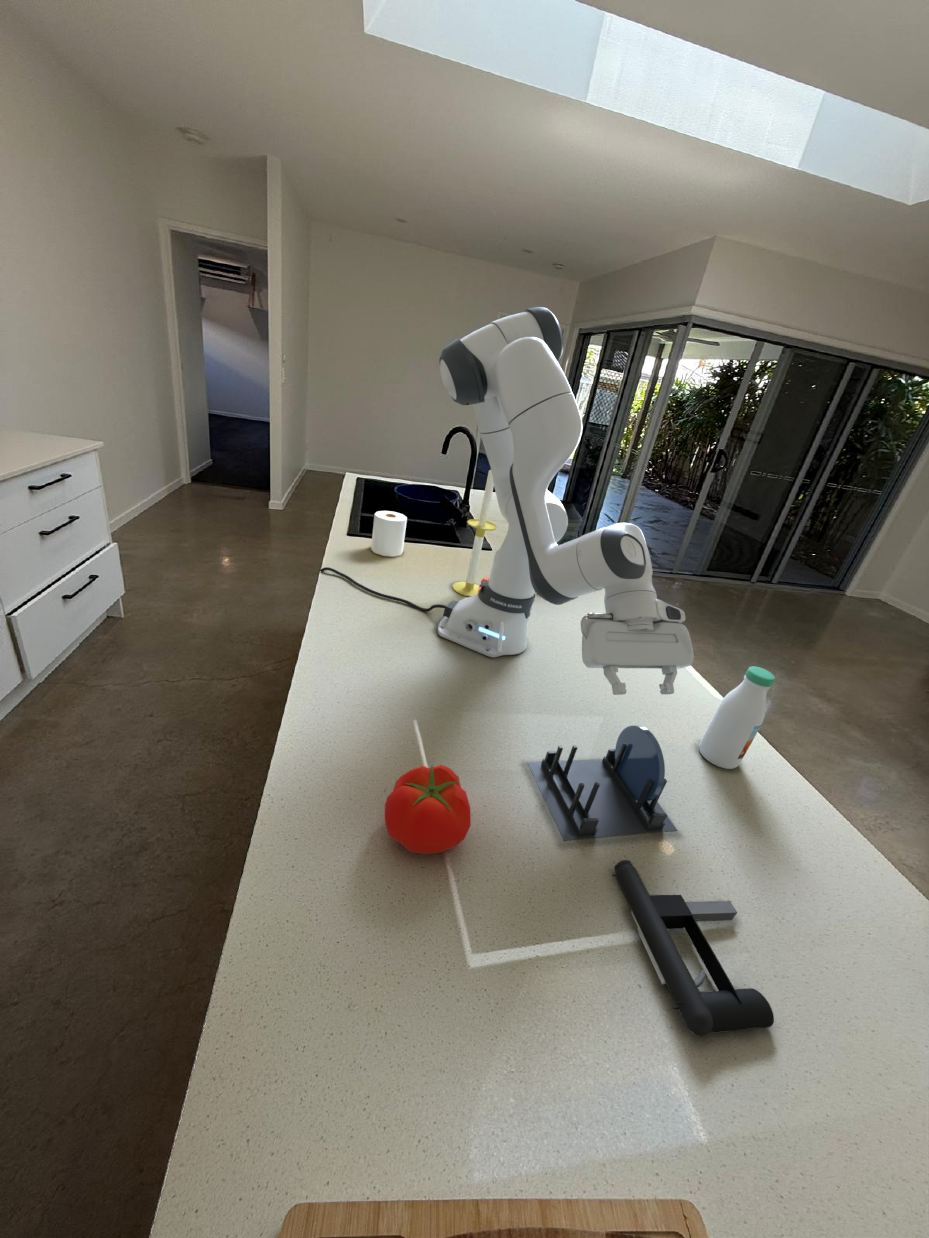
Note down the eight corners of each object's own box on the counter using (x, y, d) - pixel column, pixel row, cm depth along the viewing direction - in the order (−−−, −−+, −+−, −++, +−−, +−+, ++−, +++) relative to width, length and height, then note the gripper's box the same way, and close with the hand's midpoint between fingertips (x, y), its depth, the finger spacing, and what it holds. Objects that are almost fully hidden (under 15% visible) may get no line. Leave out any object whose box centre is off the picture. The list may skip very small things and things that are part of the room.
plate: (608, 771, 91) (624, 712, 87) (613, 770, 91) (629, 712, 87) (647, 817, 80) (667, 752, 76) (652, 817, 80) (673, 752, 76)
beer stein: (576, 587, 169) (599, 514, 158) (520, 577, 168) (538, 503, 157) (568, 568, 184) (588, 501, 173) (516, 559, 183) (532, 491, 171)
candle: (468, 580, 157) (493, 457, 141) (492, 593, 152) (520, 467, 135) (445, 585, 151) (468, 457, 134) (468, 599, 145) (495, 467, 128)
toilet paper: (366, 552, 163) (370, 516, 157) (377, 543, 172) (380, 508, 167) (397, 559, 162) (401, 523, 157) (405, 549, 171) (410, 515, 166)
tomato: (435, 887, 65) (446, 842, 61) (362, 833, 70) (368, 789, 66) (484, 825, 75) (496, 783, 71) (417, 782, 80) (425, 741, 76)
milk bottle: (721, 774, 96) (769, 687, 87) (689, 746, 102) (730, 663, 93) (746, 765, 99) (794, 681, 90) (714, 739, 105) (756, 658, 96)
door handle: (707, 858, 74) (610, 858, 70) (812, 1017, 57) (691, 1029, 52) (697, 873, 75) (601, 874, 71) (796, 1032, 58) (678, 1045, 54)
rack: (525, 765, 88) (536, 730, 85) (625, 761, 94) (639, 728, 90) (562, 844, 75) (577, 806, 71) (675, 833, 80) (694, 798, 77)
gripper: (589, 606, 82) (600, 691, 78) (692, 611, 88) (706, 691, 85) (570, 617, 88) (579, 697, 84) (668, 621, 94) (680, 696, 90)
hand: (644, 694), depth 84 cm, fingers open, 8 cm apart
